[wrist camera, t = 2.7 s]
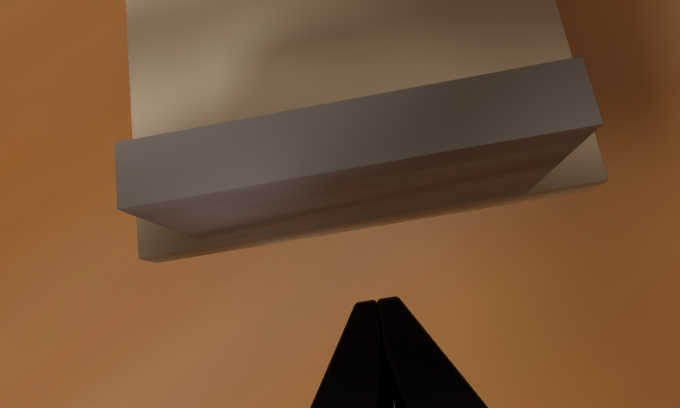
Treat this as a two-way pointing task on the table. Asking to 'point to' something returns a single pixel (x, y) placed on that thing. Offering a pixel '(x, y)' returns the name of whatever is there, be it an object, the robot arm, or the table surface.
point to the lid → (344, 116)
